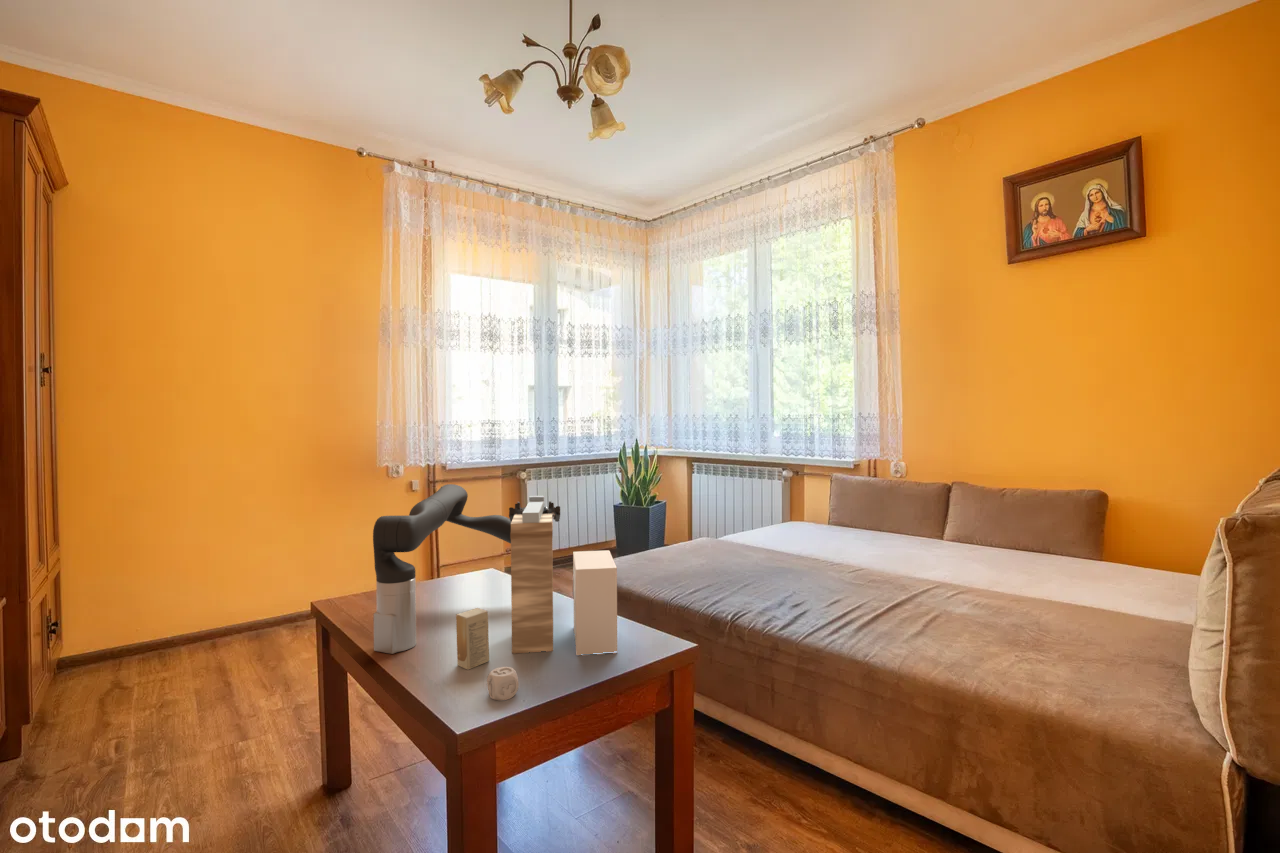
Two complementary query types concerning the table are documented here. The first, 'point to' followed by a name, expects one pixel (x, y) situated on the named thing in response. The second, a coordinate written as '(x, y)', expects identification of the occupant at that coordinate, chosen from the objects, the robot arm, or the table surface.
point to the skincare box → (472, 638)
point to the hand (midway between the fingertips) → (534, 504)
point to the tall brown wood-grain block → (532, 585)
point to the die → (502, 683)
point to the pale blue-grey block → (533, 510)
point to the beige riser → (595, 602)
